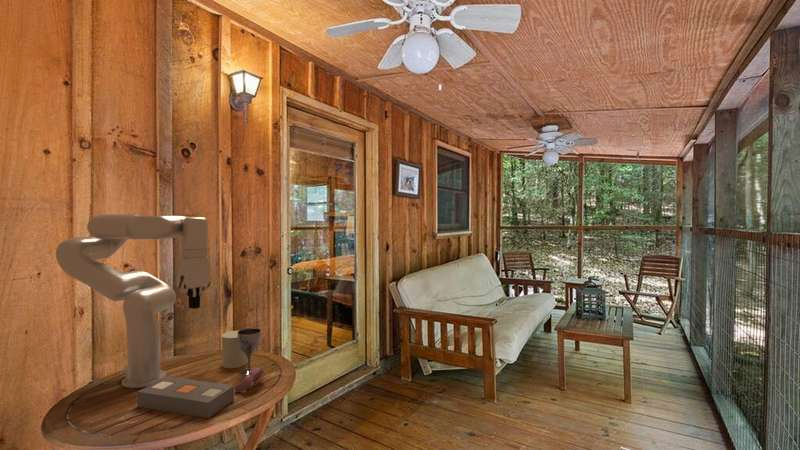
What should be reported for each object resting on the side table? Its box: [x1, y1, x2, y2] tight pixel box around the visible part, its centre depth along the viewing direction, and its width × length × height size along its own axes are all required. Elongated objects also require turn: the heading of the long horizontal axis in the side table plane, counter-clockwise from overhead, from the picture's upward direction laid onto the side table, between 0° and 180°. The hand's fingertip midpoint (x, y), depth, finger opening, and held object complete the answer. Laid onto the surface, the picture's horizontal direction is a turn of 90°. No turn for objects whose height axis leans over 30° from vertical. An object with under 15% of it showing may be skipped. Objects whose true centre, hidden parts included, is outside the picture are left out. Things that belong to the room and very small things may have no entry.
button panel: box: [137, 376, 235, 419], centre depth 117 cm, size 25×11×4 cm, turn 76°
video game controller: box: [234, 367, 265, 393], centre depth 128 cm, size 10×5×7 cm, turn 170°
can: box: [221, 330, 248, 369], centre depth 148 cm, size 9×9×12 cm
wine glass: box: [237, 327, 262, 377], centre depth 140 cm, size 8×8×15 cm
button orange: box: [175, 385, 198, 393], centre depth 117 cm, size 4×4×3 cm
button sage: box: [201, 388, 223, 397], centre depth 115 cm, size 4×4×3 cm
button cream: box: [151, 381, 174, 390], centre depth 119 cm, size 4×4×3 cm
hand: (194, 307), depth 130 cm, fingers closed
